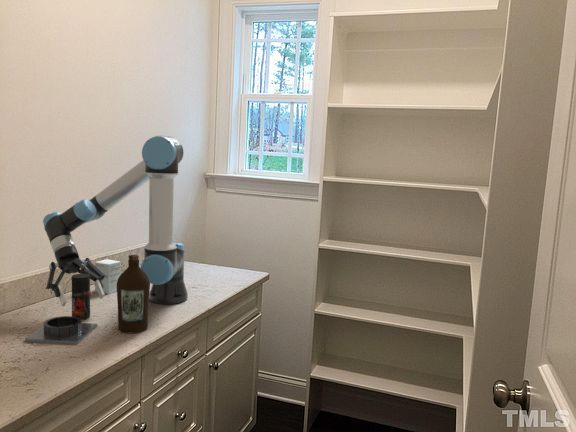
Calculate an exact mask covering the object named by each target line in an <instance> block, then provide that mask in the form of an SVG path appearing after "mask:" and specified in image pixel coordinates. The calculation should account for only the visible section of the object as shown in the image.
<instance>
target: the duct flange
mask: <svg viewBox="0 0 576 432" xmlns="http://www.w3.org/2000/svg"><path fill="white" fill-rule="evenodd" d="M82 321H83V320H81V318H78V317H75V316H72V315H61V316H56V317H52V318H48V319H46V320H45V321H44V322H43V325H42V326H41V327H40V328H38V329H37V330H35V331H33V332H32V333H31V334H30V335H28V336H26V337H25V338H24V342H25V343H38V344H39V343H41V344H42V343H43V344H54V345H55V344H58V345H72V346H73V345H76V346H77V345H78V344H79V343H80V342H82V341H83V340H84V339H86V337H88V335H89V334H91V333H92V332H93V331H94V330H95V329H97V328H98V323H91V322H82Z"/></svg>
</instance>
